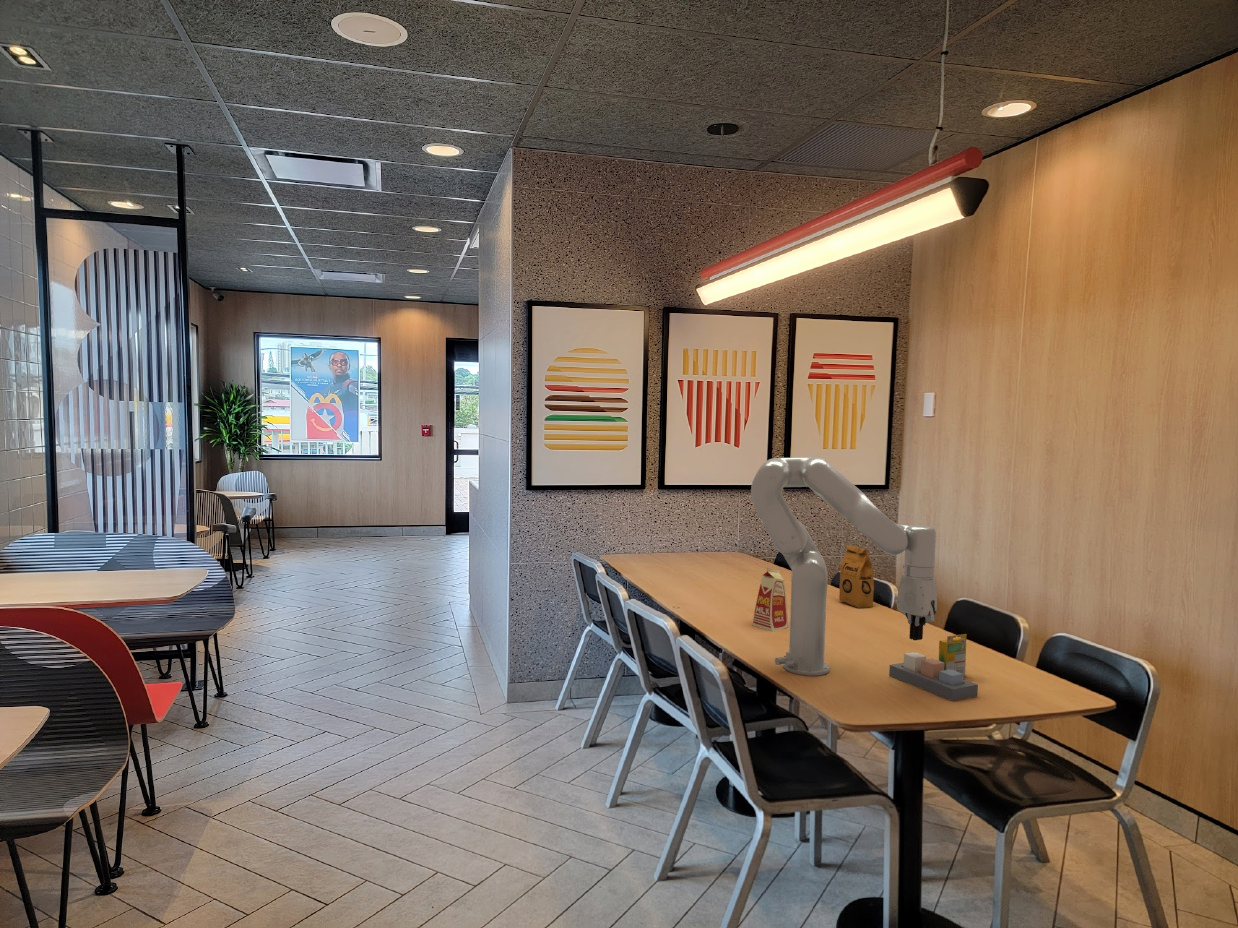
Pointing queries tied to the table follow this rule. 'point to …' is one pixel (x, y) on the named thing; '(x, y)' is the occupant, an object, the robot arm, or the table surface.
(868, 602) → the coffee package
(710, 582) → the table surface
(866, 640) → the table surface
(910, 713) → the table surface
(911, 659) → the ivory key
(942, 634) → the table surface
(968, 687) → the panel
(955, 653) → the crayon box
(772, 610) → the milk carton
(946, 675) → the slate key
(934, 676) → the terracotta key
